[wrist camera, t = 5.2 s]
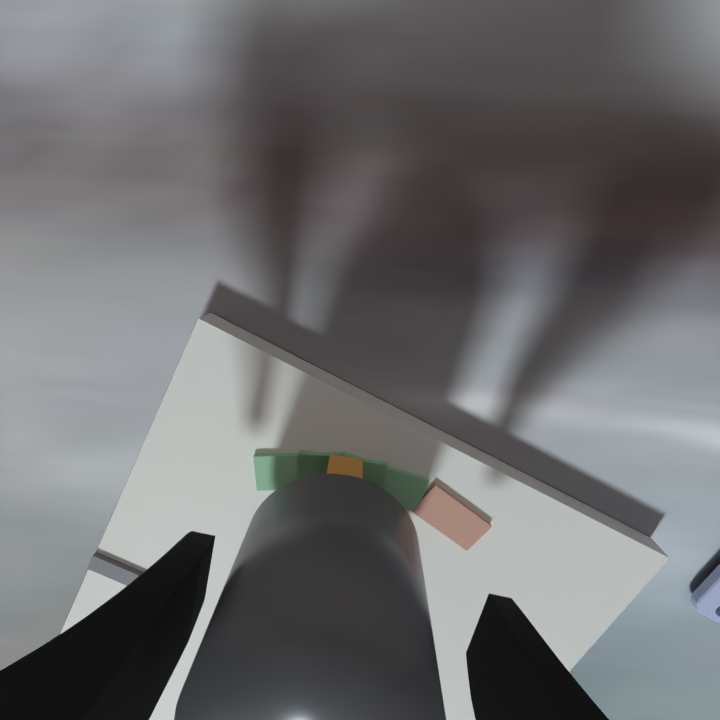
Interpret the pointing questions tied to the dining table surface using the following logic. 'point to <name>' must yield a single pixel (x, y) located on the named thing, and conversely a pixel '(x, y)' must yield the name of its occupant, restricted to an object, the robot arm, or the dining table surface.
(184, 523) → the dial plate
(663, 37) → the dining table surface
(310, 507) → the dial knob
